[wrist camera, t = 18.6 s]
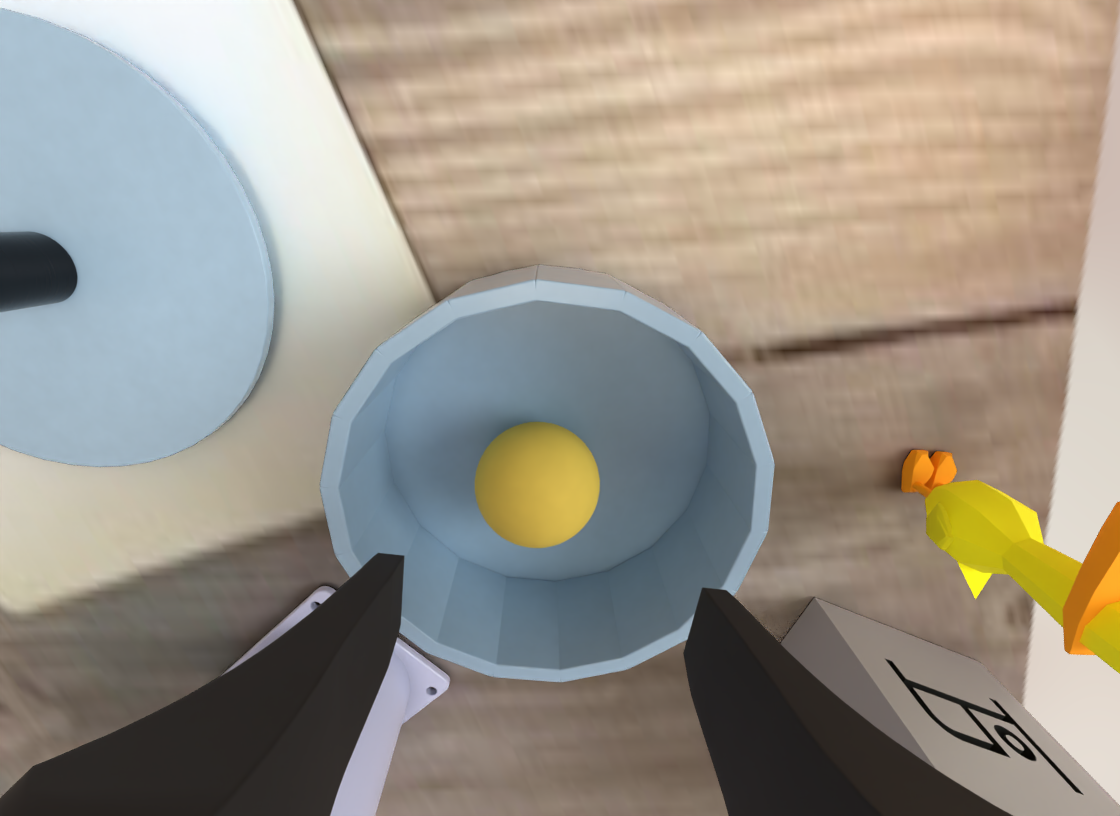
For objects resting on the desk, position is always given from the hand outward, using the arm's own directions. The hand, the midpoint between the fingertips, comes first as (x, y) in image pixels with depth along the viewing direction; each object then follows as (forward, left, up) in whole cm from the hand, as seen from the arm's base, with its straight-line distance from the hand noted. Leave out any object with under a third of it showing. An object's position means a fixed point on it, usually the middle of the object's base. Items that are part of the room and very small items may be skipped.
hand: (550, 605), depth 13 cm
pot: (0, 0, -10) cm, 10 cm away
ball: (-1, 0, -7) cm, 7 cm away
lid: (-8, +17, -9) cm, 21 cm away
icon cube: (+1, -21, -10) cm, 23 cm away
